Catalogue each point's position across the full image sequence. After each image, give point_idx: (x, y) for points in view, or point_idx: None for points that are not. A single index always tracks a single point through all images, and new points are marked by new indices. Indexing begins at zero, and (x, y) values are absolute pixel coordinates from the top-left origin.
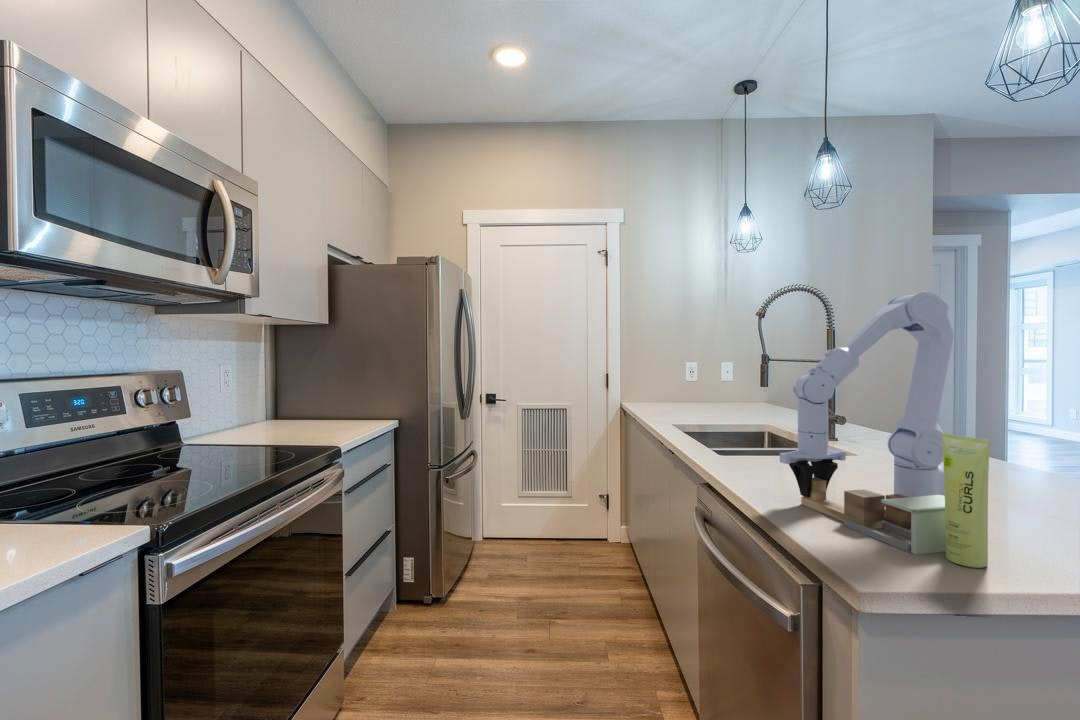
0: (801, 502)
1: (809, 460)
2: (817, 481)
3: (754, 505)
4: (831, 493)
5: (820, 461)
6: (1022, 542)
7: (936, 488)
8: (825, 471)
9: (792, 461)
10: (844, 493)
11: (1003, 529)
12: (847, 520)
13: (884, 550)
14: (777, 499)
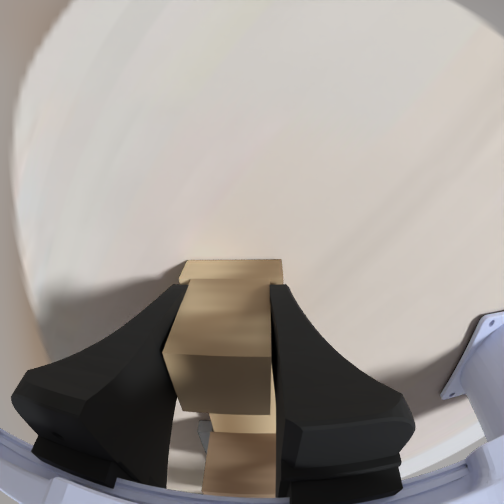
0: (185, 266)
1: (157, 501)
2: (208, 412)
3: (18, 233)
4: (468, 142)
5: (288, 493)
6: (417, 460)
7: None
8: (276, 456)
9: (29, 457)
10: (202, 484)
11: (462, 430)
12: (202, 435)
13: (189, 469)
14: (119, 166)
